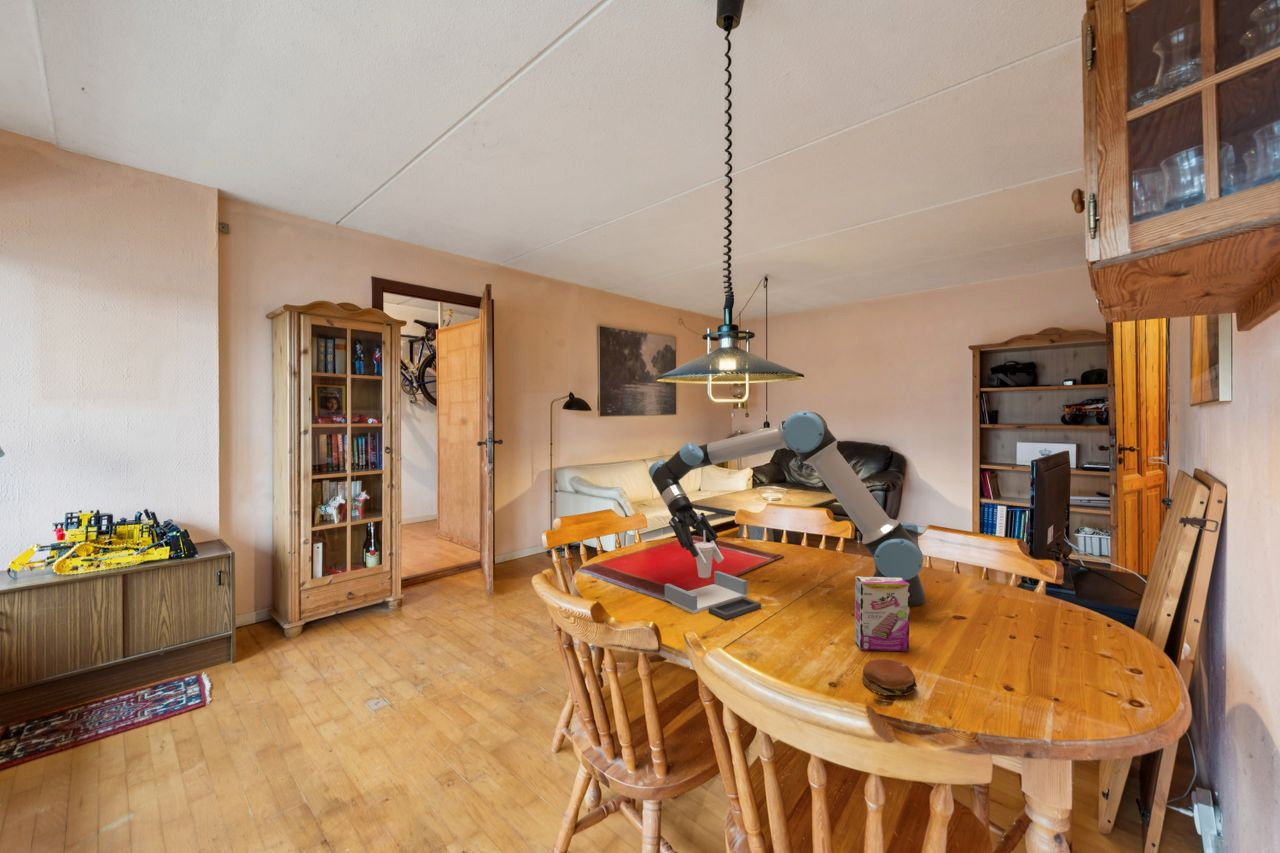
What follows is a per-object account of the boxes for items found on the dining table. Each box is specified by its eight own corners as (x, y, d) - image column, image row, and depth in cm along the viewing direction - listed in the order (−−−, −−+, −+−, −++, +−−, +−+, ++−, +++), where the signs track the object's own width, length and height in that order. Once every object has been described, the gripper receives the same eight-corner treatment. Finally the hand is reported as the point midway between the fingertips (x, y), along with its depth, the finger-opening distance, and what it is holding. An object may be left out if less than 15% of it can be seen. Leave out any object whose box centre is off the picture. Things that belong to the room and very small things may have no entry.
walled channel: (747, 596, 156) (747, 580, 156) (693, 613, 143) (692, 596, 143) (717, 585, 167) (717, 570, 167) (664, 600, 154) (664, 584, 154)
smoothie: (716, 573, 157) (716, 529, 157) (712, 580, 151) (712, 533, 151) (696, 572, 159) (695, 527, 159) (691, 578, 153) (691, 532, 153)
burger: (853, 684, 105) (853, 661, 105) (878, 671, 110) (878, 649, 110) (900, 706, 97) (900, 682, 97) (925, 691, 102) (925, 668, 102)
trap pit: (760, 608, 146) (760, 603, 146) (726, 620, 138) (726, 615, 138) (742, 601, 152) (742, 596, 152) (708, 612, 144) (708, 607, 144)
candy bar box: (861, 651, 119) (860, 582, 119) (854, 642, 124) (853, 575, 124) (910, 653, 118) (910, 583, 118) (902, 643, 123) (901, 576, 122)
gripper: (694, 505, 173) (729, 564, 160) (648, 512, 162) (682, 575, 149) (704, 491, 168) (741, 550, 155) (658, 497, 157) (694, 561, 144)
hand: (712, 562), depth 152 cm, fingers closed on smoothie, 6 cm apart
